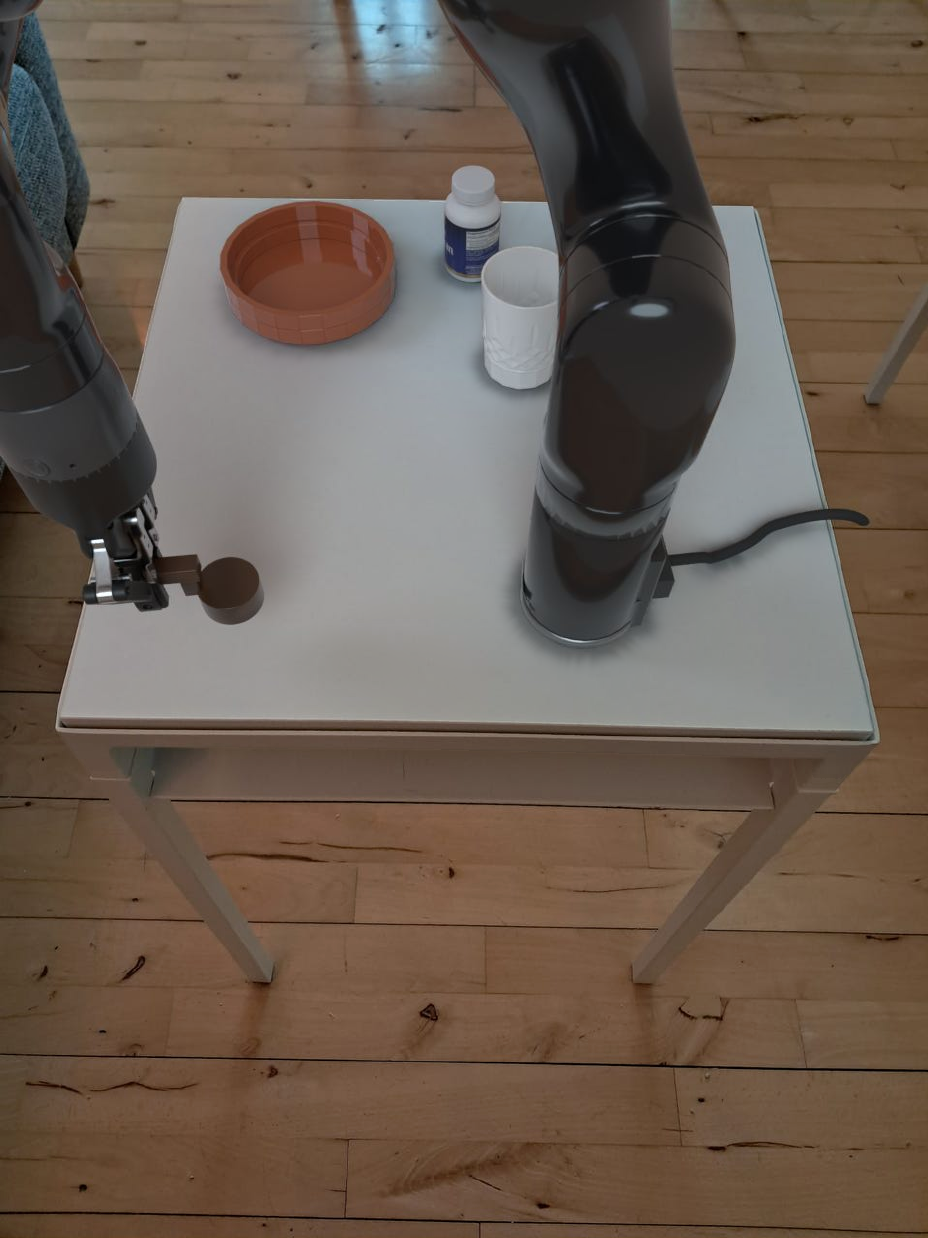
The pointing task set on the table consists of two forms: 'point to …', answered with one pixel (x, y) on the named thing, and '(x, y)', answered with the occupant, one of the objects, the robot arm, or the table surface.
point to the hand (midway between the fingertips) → (155, 592)
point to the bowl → (308, 272)
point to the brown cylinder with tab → (216, 585)
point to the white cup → (520, 315)
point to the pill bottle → (471, 223)
